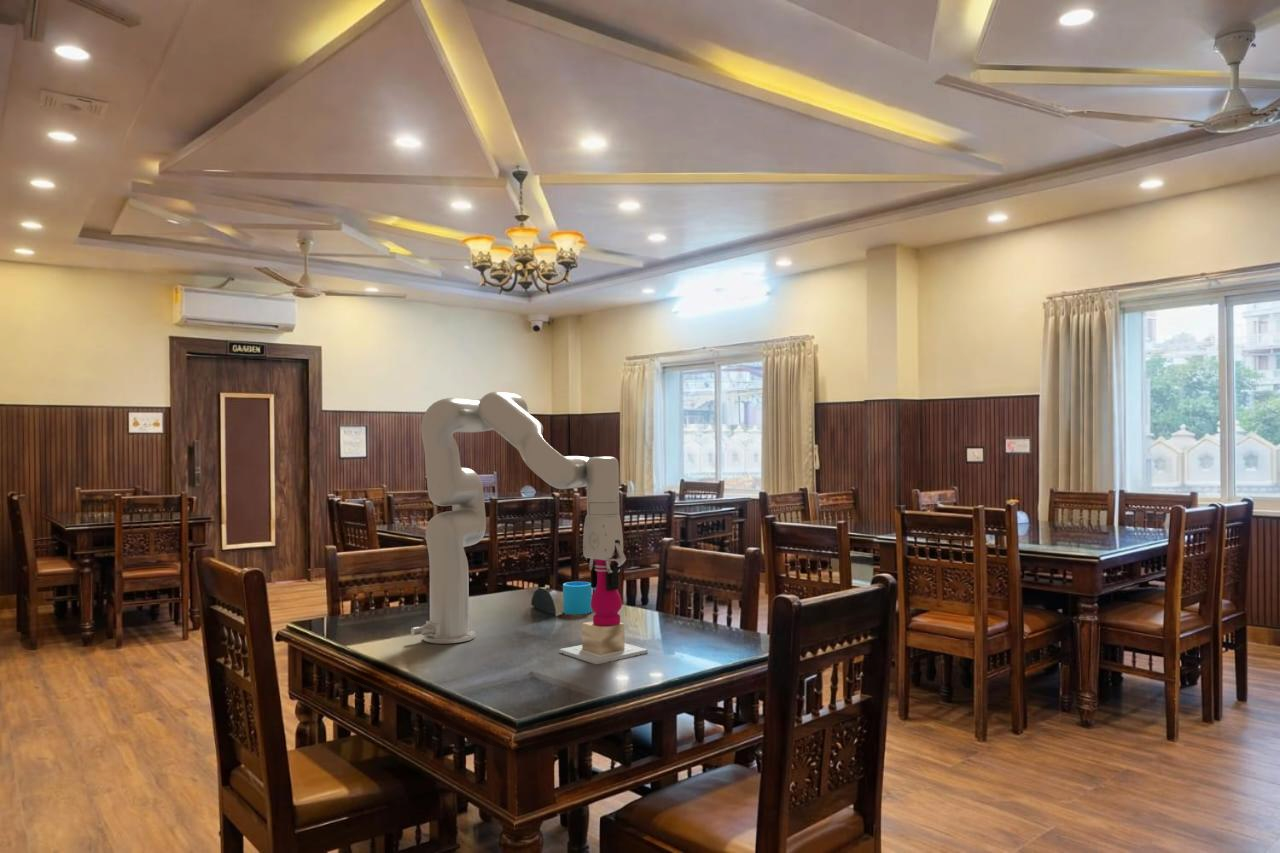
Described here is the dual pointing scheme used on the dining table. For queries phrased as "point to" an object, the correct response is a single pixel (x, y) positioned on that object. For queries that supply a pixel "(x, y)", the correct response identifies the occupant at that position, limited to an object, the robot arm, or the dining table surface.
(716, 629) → the dining table surface
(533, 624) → the dining table surface
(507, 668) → the dining table surface
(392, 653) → the dining table surface
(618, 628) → the maple block
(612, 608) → the pepper mill
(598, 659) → the white flat square
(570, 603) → the mug
